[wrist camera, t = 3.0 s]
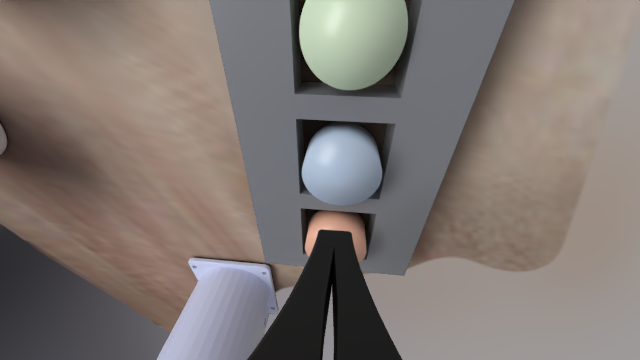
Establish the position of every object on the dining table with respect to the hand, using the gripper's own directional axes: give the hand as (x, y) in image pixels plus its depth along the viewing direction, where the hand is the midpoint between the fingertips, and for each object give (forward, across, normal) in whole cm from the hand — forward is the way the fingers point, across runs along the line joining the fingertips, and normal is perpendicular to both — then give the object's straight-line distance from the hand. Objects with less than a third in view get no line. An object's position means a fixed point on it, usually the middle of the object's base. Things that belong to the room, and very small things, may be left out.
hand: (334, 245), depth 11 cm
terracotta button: (+5, 0, +4) cm, 7 cm away
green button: (+6, 0, -8) cm, 9 cm away
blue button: (+5, 0, -2) cm, 5 cm away
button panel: (+6, 0, -2) cm, 6 cm away
